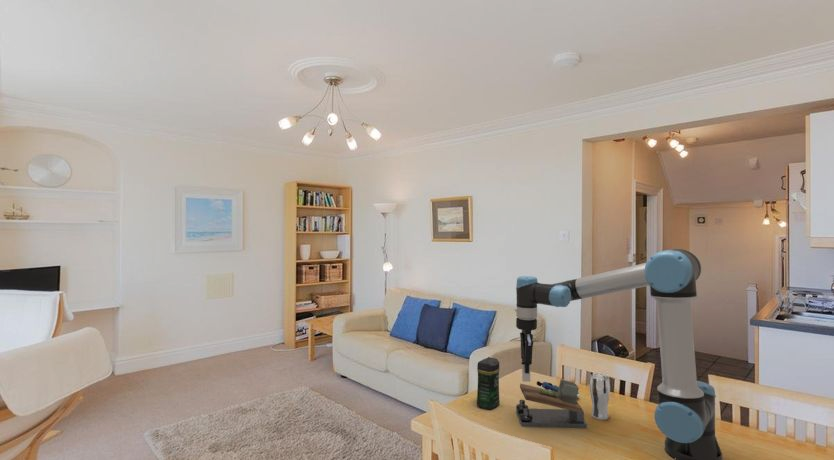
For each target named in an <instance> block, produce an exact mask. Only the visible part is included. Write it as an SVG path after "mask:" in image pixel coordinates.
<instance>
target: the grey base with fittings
mask: <svg viewBox="0 0 834 460" xmlns="http://www.w3.org/2000/svg"><path fill="white" fill-rule="evenodd" d="M515 407H516V408H515V413H516V416H517V419H518V421H519V424H520V426H521V427H526V428H529V427H532V428H556V429H557V428H559V429H560V428H561V429H588V424H587V421H585V411H584V410H583V409H582V412H581V413H580V412H576V411H572V410H567V409H563V408H560V409H559V408H558V409H557V408H529V405H527V404H526V400H525V399H519V403H518V404H516V406H515Z"/></svg>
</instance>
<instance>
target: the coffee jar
mask: <svg viewBox="0 0 834 460" xmlns="http://www.w3.org/2000/svg"><path fill="white" fill-rule="evenodd" d="M476 366H477V368H476V370H477V371H476V372H477V390H476V391H477V393H476V404H477V406H478V407H480V408H481V409H485V410H486V409H487V410H488V409H489V410H493V409H495V408H496V407H498V405H500V361H499V360H498V359H497V358H496V357H495V358H494V357H490V356H488V357H485V358H483V359H481V360H480V361H478V362H477V365H476Z"/></svg>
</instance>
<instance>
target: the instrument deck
mask: <svg viewBox="0 0 834 460" xmlns="http://www.w3.org/2000/svg"><path fill="white" fill-rule="evenodd" d="M558 387H559V389H558V392H555V391H552V390H546V389H545V388H543V387H539V386H534V385H529V384H525V383H520V385H519V389H520V390H521V393H522V395H523V397H524V400H525V401H529V402H534V403H538V404H541V405H542V404H543V405H546V406H550V407H555V408H558V409H559V408H560V409H567V410H572V411H576V412H580V413H581V412H582V410H583V408H582V406H581V405H580V404H579V402H578V400H577V401H576V399H577V395H578V393H579V390H580V387H579V386H578V385H577V384H576V383H575V382H574V381H571V380H565V379H562V378H561V379H560V381H559V385H558Z"/></svg>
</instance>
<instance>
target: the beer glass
mask: <svg viewBox="0 0 834 460" xmlns="http://www.w3.org/2000/svg"><path fill="white" fill-rule="evenodd" d="M589 392H590V393H589V394H590V399H591V405H592V407H591V408H592V409H591V412H590V414H591V417H592V418H594V419H596V420H599V421H606V420H609V418H610V417H609V411H608V408H609V407H608V405H609V401H610V394H611V385H610V377H609V376H607V375H606V374H599V373H593V374H591V375H590V380H589Z"/></svg>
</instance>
